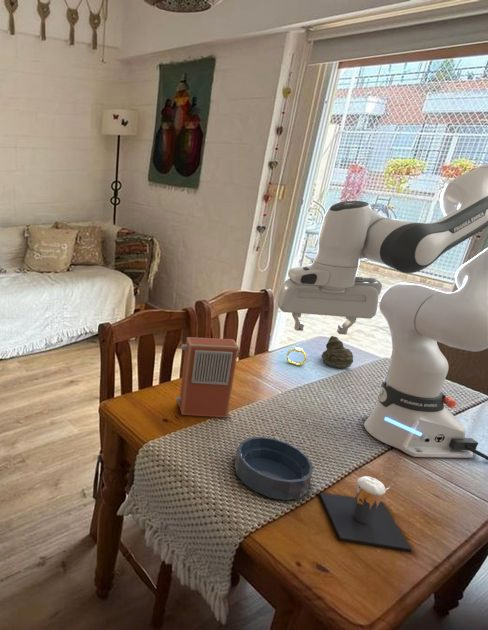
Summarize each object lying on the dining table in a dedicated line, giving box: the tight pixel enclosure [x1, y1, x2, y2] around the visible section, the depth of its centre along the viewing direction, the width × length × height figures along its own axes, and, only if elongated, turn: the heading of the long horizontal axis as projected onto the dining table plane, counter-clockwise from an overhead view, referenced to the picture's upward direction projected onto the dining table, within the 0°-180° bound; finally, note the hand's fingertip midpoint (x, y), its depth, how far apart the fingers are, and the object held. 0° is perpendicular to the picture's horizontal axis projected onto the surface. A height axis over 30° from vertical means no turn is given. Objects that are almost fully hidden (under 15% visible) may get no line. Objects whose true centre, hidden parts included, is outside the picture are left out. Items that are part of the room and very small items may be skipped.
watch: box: [286, 346, 307, 367], centre depth 151 cm, size 6×3×6 cm, turn 60°
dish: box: [234, 436, 314, 501], centre depth 98 cm, size 15×15×5 cm
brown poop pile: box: [321, 335, 354, 369], centre depth 151 cm, size 11×12×10 cm
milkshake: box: [352, 475, 395, 524], centre depth 85 cm, size 4×5×10 cm
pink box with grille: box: [175, 336, 240, 419], centre depth 120 cm, size 21×7×15 cm
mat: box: [318, 492, 412, 552], centre depth 87 cm, size 12×12×1 cm
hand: (319, 331), depth 104 cm, fingers open, 8 cm apart
